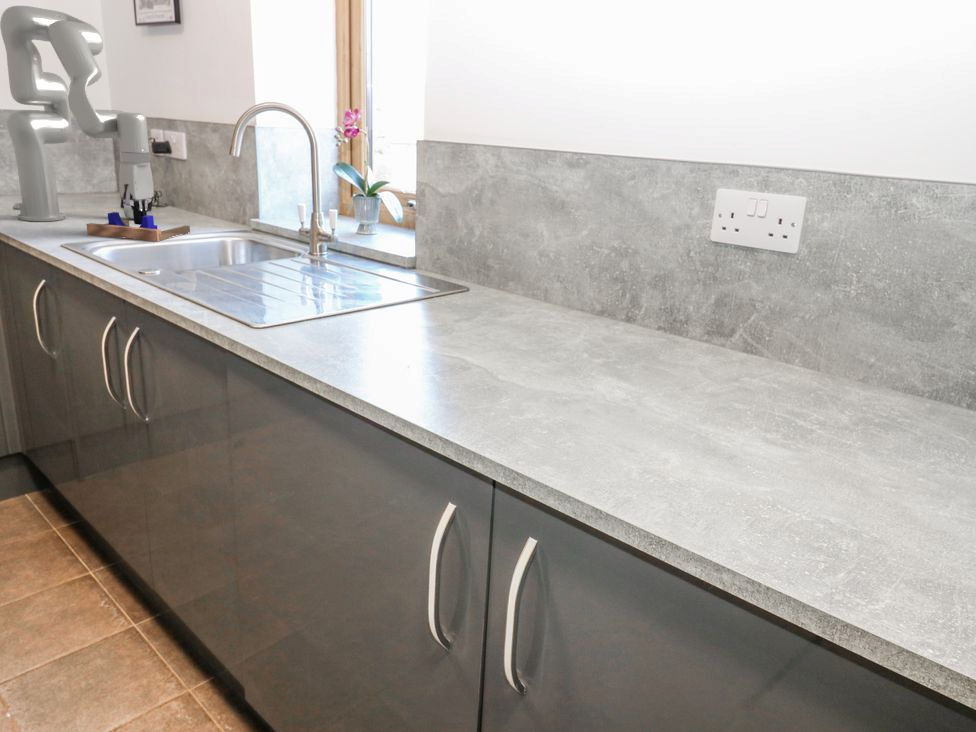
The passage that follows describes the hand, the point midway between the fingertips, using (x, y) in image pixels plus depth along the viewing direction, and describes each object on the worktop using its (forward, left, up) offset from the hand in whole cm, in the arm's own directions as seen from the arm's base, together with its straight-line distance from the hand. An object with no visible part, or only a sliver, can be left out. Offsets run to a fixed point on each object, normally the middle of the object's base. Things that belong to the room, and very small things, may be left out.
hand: (140, 224), depth 214 cm
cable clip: (-1, -3, -3) cm, 4 cm away
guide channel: (0, 0, -3) cm, 3 cm away
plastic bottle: (-16, +22, -3) cm, 27 cm away
